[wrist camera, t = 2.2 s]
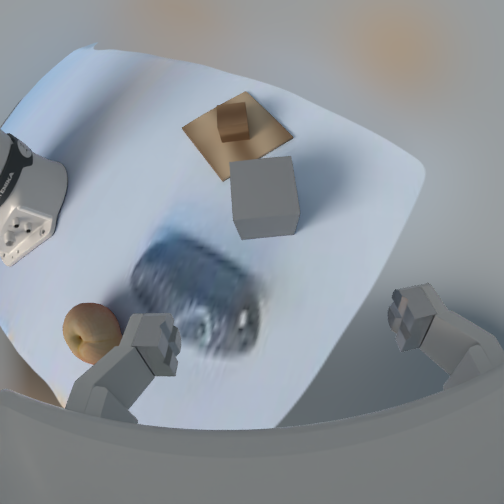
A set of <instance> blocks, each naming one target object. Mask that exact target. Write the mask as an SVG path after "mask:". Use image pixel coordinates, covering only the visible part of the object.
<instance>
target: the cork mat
mask: <svg viewBox="0 0 504 504" xmlns="http://www.w3.org/2000/svg"><path fill="white" fill-rule="evenodd" d="M240 102H245V104H246V111H247V118H248V127H249V137H250V140H241V141H233V142H225V143H222V141H221V138H220V135H219V131H218V128H217V107H216V108H214V109H212V110H210V111H209V112H207V113H205V114H203V115H202V116H200V117H198V118H197V119H195V120H193V121H192V122H190V123H189V124H187V125H185V126H184V127H182V129H183V131H184V132H185V133H186V134H187V136H188V137H189V138H190V140H191V141H192V142H193V143H194V145H195V146H196V147H197V149H198V150H199V151H200V153H201V154H202V155H203V156H204V158H205V159H206V160H207V162H208V163H209V164H210V166H211V167H212V168H213V169H214V171H215V172H216V173H217V175H218V176H219V177H220V179H221V180H222V181H225V180H226V179H228V178H229V177H230V166H229V162H235V161H243V160H252V159H259V158H261V157H263V156H264V155H266V154H268V153H269V152H271V151H273V150H274V149H276V148H278V147H279V146H281V145H283V144H284V143H286V142H288V141H289V140H291V139H293V136H292V135H291V134H290V133H289V132H288V131H287V130H286V129H285V128H284V127H283V126H282V125H281V124H280V123H279V122H278V121H277V120H276V119H275V118H274V117H273V116H272V115H271V114H270V113H269V112H268V111H267V110H265V109H264V108H263V107H262V106H261V105H260V104H259V103H258V102H257V101H256V100H255V99H254V98H253V97H252V96H250V95H249V94H248V93H247V92H244V93H242V94H240V95H238V96H236V97H234V98H232V99H230V100H228V101H226V102H225V103H223V104H221V105H224V104H232V103H240Z"/></svg>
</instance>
